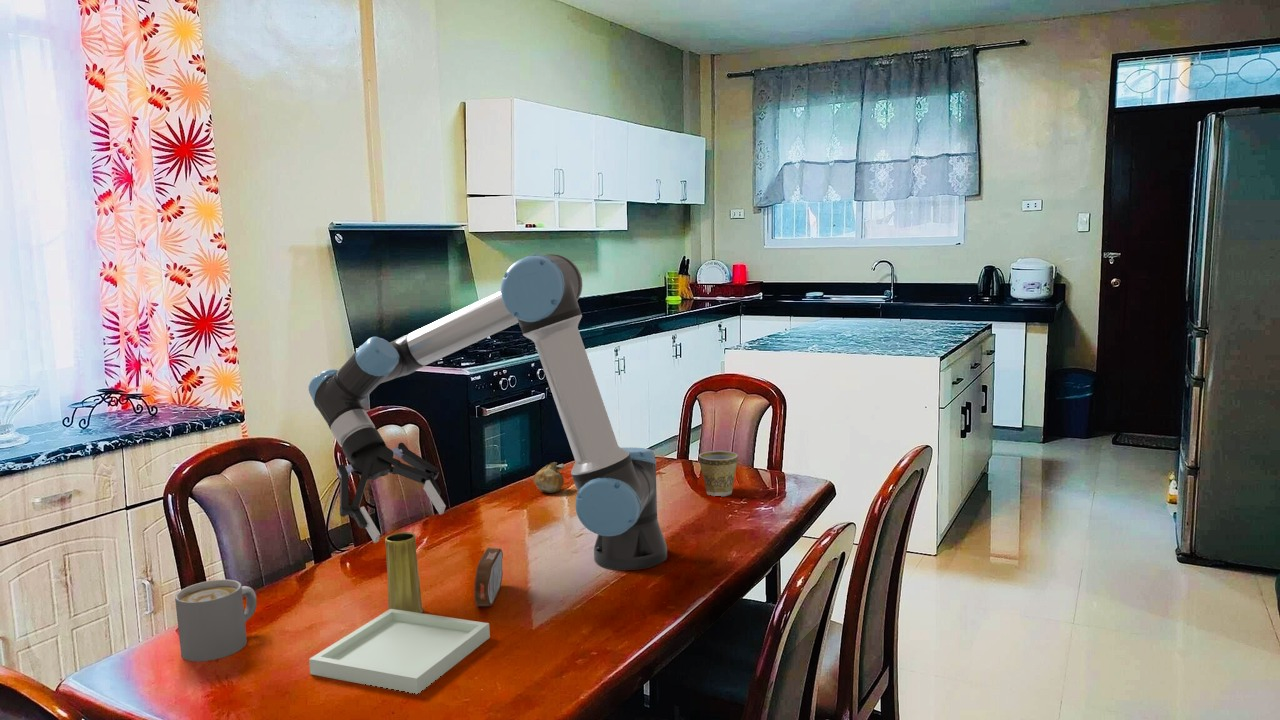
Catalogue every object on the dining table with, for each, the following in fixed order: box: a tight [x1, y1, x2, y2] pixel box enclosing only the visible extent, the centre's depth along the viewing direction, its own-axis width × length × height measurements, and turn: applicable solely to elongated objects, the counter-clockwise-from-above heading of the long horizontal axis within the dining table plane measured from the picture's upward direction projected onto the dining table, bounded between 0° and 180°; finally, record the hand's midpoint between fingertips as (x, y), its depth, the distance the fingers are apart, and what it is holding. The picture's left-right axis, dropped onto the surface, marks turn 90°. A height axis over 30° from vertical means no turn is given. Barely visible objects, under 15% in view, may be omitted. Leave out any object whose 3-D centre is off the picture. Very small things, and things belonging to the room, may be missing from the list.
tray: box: [308, 608, 491, 695], centre depth 144 cm, size 20×20×2 cm
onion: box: [533, 461, 565, 494], centre depth 236 cm, size 8×8×8 cm
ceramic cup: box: [698, 450, 739, 497], centre depth 231 cm, size 13×10×10 cm
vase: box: [384, 531, 424, 613], centre depth 159 cm, size 6×6×14 cm
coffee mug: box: [174, 578, 258, 663], centre depth 150 cm, size 13×10×10 cm
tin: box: [474, 547, 504, 608], centre depth 166 cm, size 15×3×8 cm, turn 178°
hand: (411, 524), depth 167 cm, fingers open, 13 cm apart
